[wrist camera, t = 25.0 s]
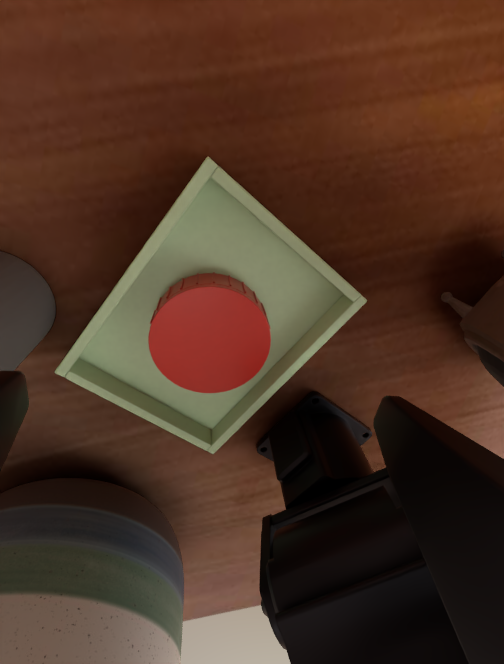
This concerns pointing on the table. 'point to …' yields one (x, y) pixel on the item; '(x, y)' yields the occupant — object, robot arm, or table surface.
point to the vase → (87, 576)
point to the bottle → (22, 310)
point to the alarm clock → (484, 327)
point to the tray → (222, 258)
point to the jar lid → (209, 333)
